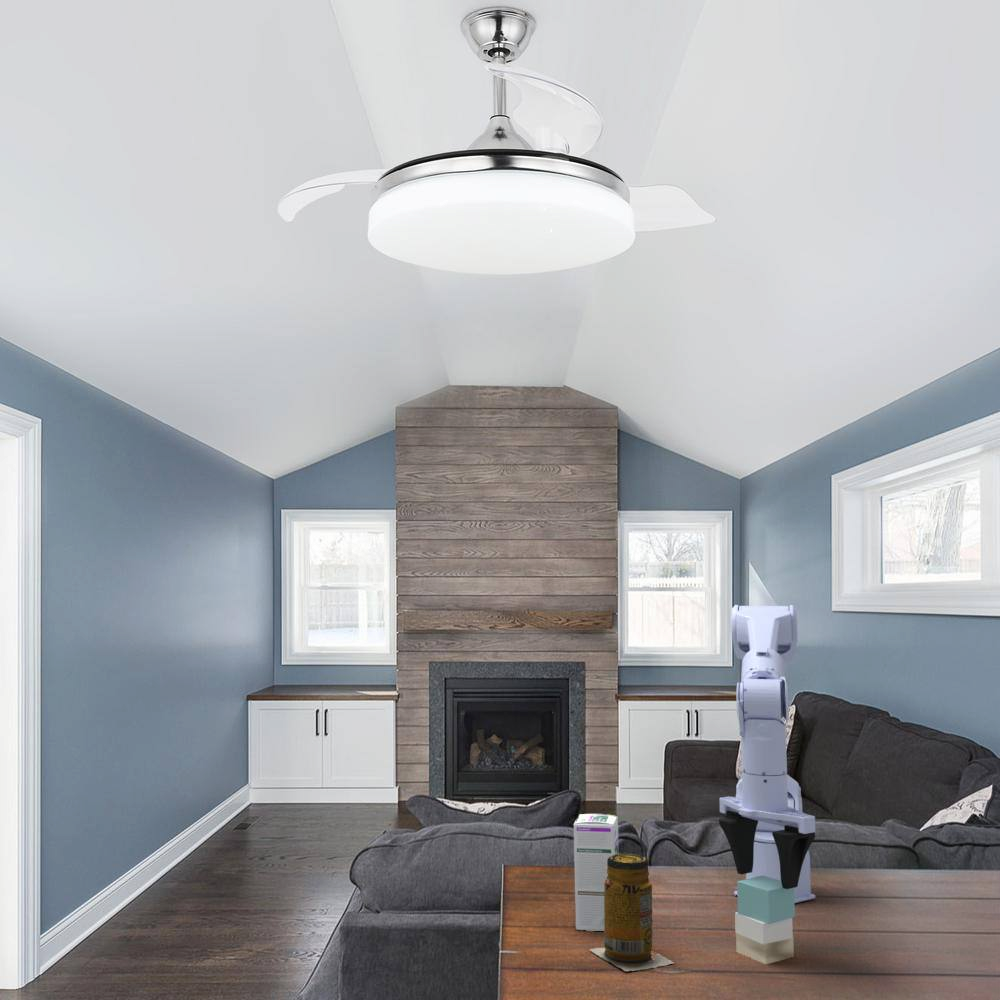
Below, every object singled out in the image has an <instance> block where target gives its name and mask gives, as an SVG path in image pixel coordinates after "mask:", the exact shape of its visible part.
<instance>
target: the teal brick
mask: <svg viewBox="0 0 1000 1000" xmlns="http://www.w3.org/2000/svg"><path fill="white" fill-rule="evenodd" d="M736 888H737V890H736V891H737V912H738V914H740V915H743V916H746V917H749V918H752V919H755V920H758V921H761V922H764V923H767V924H772V923H775V922H779V921H782V920H786V919H789V918H792V919H793V918H795V917H796V908H795V906H796V905H795V904H796V903H795V901H794V888H791V889H785V888H783V887H782V883H781V880H777V879H774V878H770V877H767V876H763V875H762V876H758V877H754V878H750V879H746V878H745V879H743V880H738V881H736Z"/></svg>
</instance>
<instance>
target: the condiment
mask: <svg viewBox="0 0 1000 1000" xmlns="http://www.w3.org/2000/svg"><path fill="white" fill-rule="evenodd" d="M649 863H650V862H649V860H648V858H646V857H645V856H643V855H639V854H636V853H634V854H632V853H619V854H615V855H612V856H610V857H609V858H608V860H607V874H608V876H607V878H606V879H605V882H604V932H603V933H604V934H603V935H604V938H603V939H604V944H603V945H604V947H595V948H590V949H589V951H590V952H592V953H593V954H595V955H596V956H598V957H599V958H601V959H603V960H605V961H606V962H610V964H612V965H614V966H615V967H617V968H619V969H621V970H623V971H624V972H630V971H631V972H634V971H641V970H649V969H656V968H658V967H663V966H664V967H665V966H668V965H671V964H672V965H673V964H675V962H674V961H672V960H671V959H668V958H667V957H665V956H663V955H662V954H659V953H657V952H656V953H657V954H656V956H659V957H656V956H655V960H651V959H652V958H651V956H652V955H651V952H652V951H653V949H652V948H653V922H654V921H653V886H652V881H651V880H650V878H649V875H650V872H649ZM649 961H650V962H649Z"/></svg>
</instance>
